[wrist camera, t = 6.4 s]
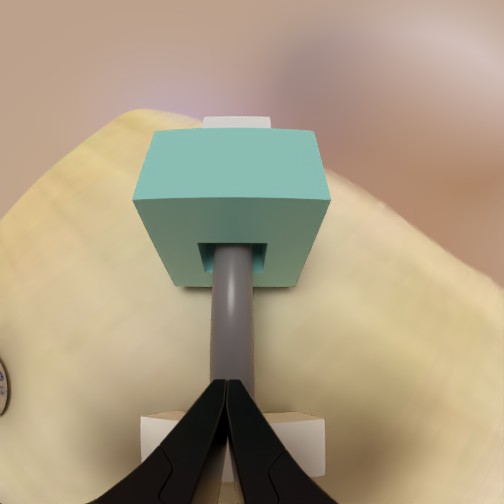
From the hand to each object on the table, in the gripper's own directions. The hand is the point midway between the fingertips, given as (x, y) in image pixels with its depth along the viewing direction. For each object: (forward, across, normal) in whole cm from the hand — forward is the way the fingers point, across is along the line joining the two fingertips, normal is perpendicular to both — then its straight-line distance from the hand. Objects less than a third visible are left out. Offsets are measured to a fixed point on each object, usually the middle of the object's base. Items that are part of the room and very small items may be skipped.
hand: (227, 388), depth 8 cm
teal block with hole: (+10, 0, -1) cm, 10 cm away
